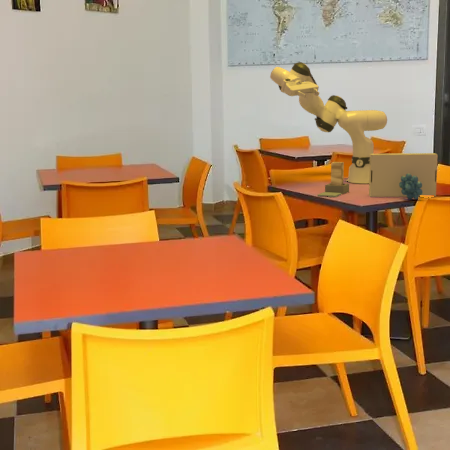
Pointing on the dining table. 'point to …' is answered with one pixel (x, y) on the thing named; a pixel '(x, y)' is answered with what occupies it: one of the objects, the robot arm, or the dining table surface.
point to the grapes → (411, 186)
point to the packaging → (401, 173)
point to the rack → (337, 188)
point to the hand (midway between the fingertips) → (311, 95)
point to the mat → (329, 194)
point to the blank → (337, 173)
